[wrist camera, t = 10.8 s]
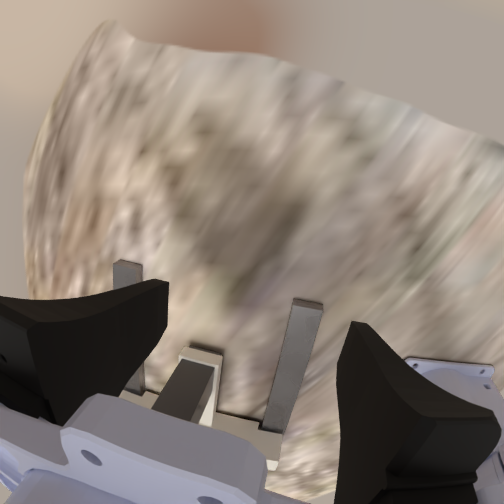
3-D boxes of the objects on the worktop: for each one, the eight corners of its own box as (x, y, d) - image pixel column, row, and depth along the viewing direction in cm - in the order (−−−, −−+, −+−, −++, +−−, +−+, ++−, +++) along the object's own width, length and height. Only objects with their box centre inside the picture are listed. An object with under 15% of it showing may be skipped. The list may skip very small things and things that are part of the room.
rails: (322, 304, 21) (323, 310, 20) (275, 452, 27) (273, 460, 26) (119, 259, 23) (113, 263, 22) (130, 412, 29) (126, 418, 28)
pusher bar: (303, 368, 23) (296, 445, 16) (280, 437, 25) (268, 505, 18) (119, 321, 24) (66, 373, 17) (126, 394, 27) (88, 446, 20)
